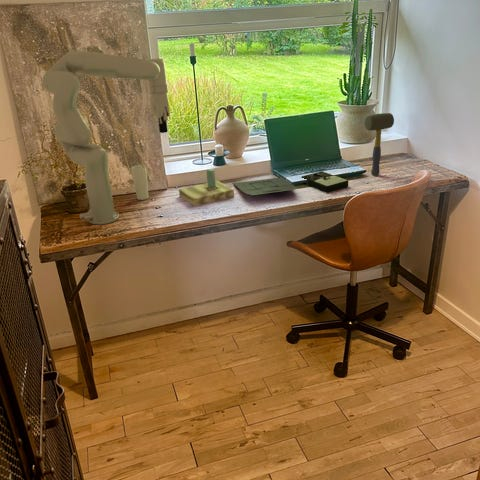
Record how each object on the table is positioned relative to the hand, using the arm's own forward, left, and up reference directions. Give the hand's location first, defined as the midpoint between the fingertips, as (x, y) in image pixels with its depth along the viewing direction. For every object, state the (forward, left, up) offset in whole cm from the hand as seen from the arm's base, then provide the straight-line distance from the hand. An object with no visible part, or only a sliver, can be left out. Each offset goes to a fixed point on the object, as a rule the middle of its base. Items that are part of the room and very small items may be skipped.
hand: (163, 132), depth 212 cm
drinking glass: (-13, +2, -29) cm, 32 cm away
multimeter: (+65, -34, -30) cm, 79 cm away
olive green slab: (+12, -14, -29) cm, 34 cm away
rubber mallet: (+93, -38, -29) cm, 105 cm away
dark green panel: (+38, -23, -30) cm, 53 cm away
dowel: (+15, -14, -29) cm, 36 cm away
